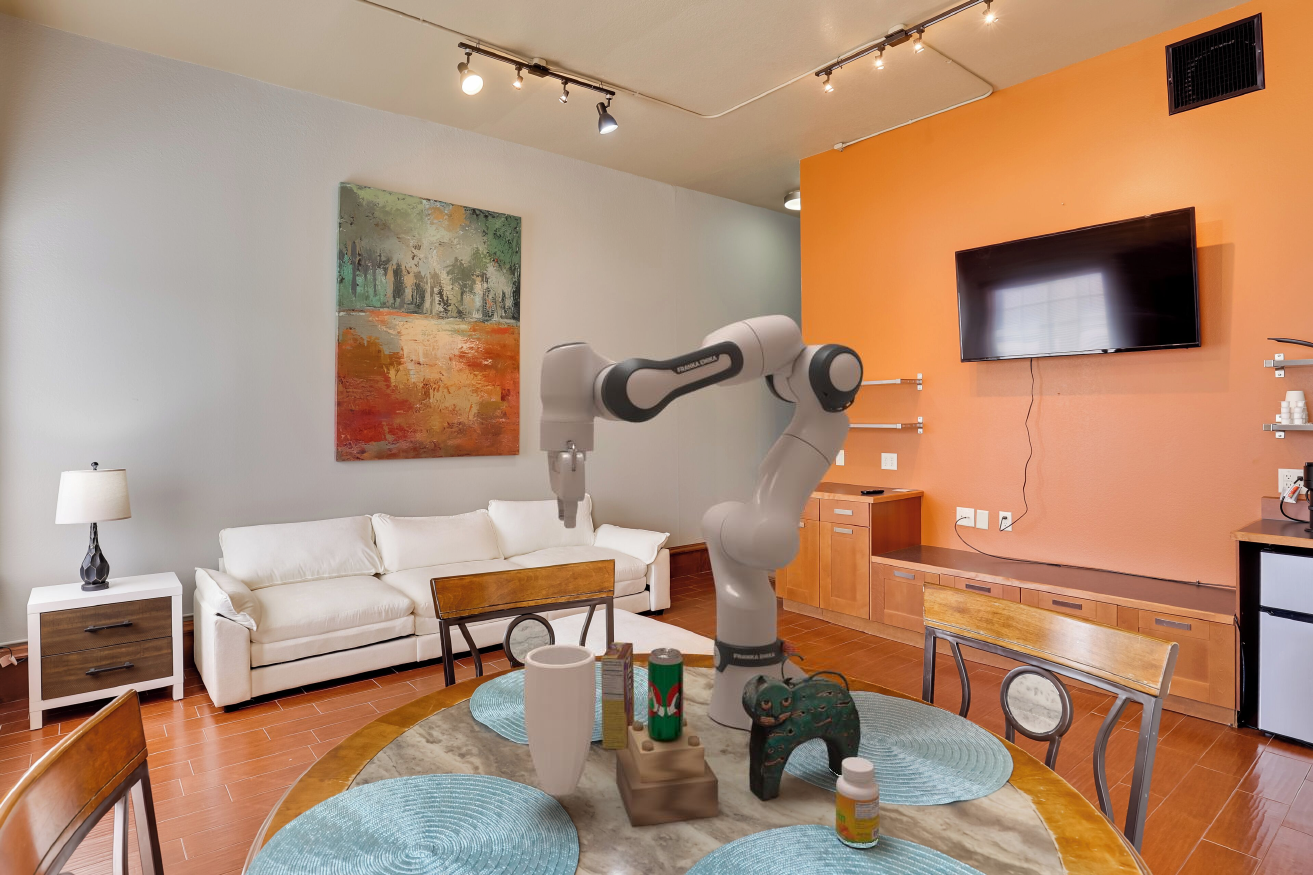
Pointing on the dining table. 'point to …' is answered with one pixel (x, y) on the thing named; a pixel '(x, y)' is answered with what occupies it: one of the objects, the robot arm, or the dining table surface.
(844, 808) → the supplement bottle
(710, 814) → the tower base
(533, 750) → the cup
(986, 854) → the dining table surface
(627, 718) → the candy box
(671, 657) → the soda can
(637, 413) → the robot arm
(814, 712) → the ceramic cat
